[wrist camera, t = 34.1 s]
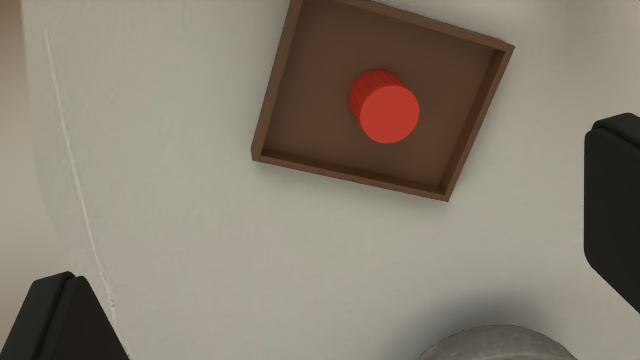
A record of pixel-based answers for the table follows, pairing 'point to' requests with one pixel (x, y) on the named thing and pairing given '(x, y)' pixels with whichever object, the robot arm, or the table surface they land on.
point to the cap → (383, 106)
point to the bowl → (497, 345)
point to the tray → (354, 61)
